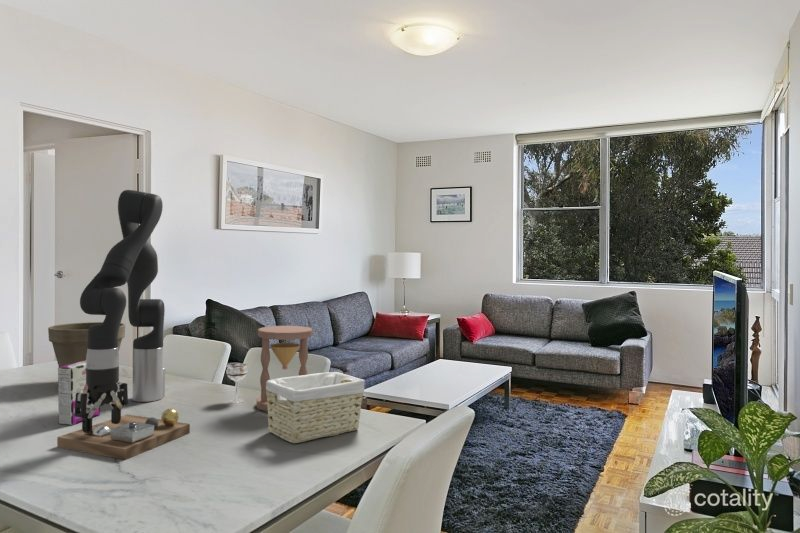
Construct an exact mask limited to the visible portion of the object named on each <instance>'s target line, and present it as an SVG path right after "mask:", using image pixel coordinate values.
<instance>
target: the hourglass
mask: <svg viewBox="0 0 800 533" xmlns="http://www.w3.org/2000/svg"><path fill="white" fill-rule="evenodd" d="M313 334H314V333H313V329H312V328H311V327H309V326H301V325H271V326H269V325H268V326H264V327H260V328H257V337H259V338H260V339H261V352H260V363H261V368H262V370H261V374H260V378H259V383H260V388H261V390H260V396H259V397H258V398H256V405H255V406H256V408H257V409H258V410H260V411H263V412H266V411H267V413H268V407H267V406H268V405H267V395H266V391H267V390H266V382H267V381H268V380H271V378H270V373H269V365H270V361H271V352H270V348H271V350H272V352H273V354H274V356H275V357H276V358H277V359H278V361H279V362H280V364H281V366H282V367H281V368H282V370H288V365H289V364H290V362H291V361H292V360H293V358H294V357H295V355H296V353H297V352H298V359H299V362H300V368H299V371H298V376H301V375H309V373H308V371H307V367H306V366H307V361H308V358H309V355H308V354H309V350H308V339H309V338H311V337H312V336H313ZM270 340H277V341H279V340H280V341H282V340H283V341H287V340H289V341H290V340H300V341H299V342H300V343H295V342H279V343H278V342H277V343H272V344H270Z"/></svg>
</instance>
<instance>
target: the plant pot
mask: <svg viewBox="0 0 800 533" xmlns="http://www.w3.org/2000/svg"><path fill="white" fill-rule="evenodd" d="M101 323H103V321H98V322H97V321H95V322H94V321H93V322H92V321H91V322H88V321H87V322H74V323H63V324H55V325H51V326H49V327H48V328H47V331H48V341H49V342H51V345H52V347H53V351H54V354H55V358H56V362H57V366H58V367H62V366H66V365H69V364H73V363H77V362H81V361H85V360H86V355H87V349H88V348H87V346H88V329H89V327H90V326H92V325H96V324H101ZM125 336H126V324H125V323H123V322H121V324H120V327H119V331H118V351H120V347H121V345H122V341H123V339H124V338H125Z"/></svg>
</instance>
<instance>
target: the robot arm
mask: <svg viewBox="0 0 800 533" xmlns="http://www.w3.org/2000/svg"><path fill="white" fill-rule="evenodd" d="M163 206H164V205H163V200H162V198H161V196H160V195H158V194H154V193H151V192H150V193H149V192H145V191H139V190H134V189H125V190H123V191H121V193H120V194H119V197H118V200H117V213H118V214H117V215H118V220H119V224H120V230H121V234H122V239H121V240H119V242H117V243H116V244H114V245H113V246H112V247H111V248H110V250H109V251H108V252H107V254H106V257H105V259H104V262H103V264H102V265H101V268H100V271H99V272H98V273H97V274H96V275H95V276H93V278H92V279H91V281H90V282H89V283H88V284H87V285H86V286H85V288H84V289H83V291H82V293H81V295H80V298H79V306H80V309H81V311H82V312H83V313H85V314H88V315H91V316H93V315H94V316H96V315H97V316H98V315H99V316H105V317H104V320H103V321H102V322H103V323H101V324H96V325H92V326H90V327H89V329H88V346H87V348H88V349H87V355H86V384H87V386H88V390H87V392H85V393H76V397H75V413H74V416H75V417H80V418H82V422H81V429H82V430H83V432H84V433H91V432H92V426H93V417H92V416H93V414H94V412H95V411H96V410H97V409H98V408H99V406H100V407H102V406H105V405H110V407H111V408H112V409H111V416H110V418H111V419H110V420H111V422H112V424H119V423H120V420H121V416H122V409H123V407H124V406H127V405H129V404H128V403H129V398H128V397H129V396H128V394H129V393H128V383H127V382H120V353H119V351H120V350H119V351H118V331H119V327H120V324H121V323H122V319H123V316H124V314H125V311H126V307H127V311H128V312H127V313H128V321H129V324H130V325H131V326H132V327H135V328H152V331H150V332H148V333H147V334H144V335H142V336H139V337H136V338H134V339H133V341H132V392H131V394H132V395H131V396H132V400H131V401H134V402H139V403H146V402H147V403H148V402H155V401H159V400H161V399H162V398H164V397H165V396H166V395H165V394H166V393H165V392H166V390H165V389H166V369H165V367H164V324H165V303H164V300H162V299H161V298H152V299H151V298H145V299H144V298H141V296H142V294H143V293H144V292H145V290H147V288H148V287H149V286H150V285H151V284H152V283H153V282H154V281H155V279H156V277H157V275H158V273H159V263H158V259H159V258H158V255H157V251H156V249H155V248H154V247H153V245H152V243H151V242H150V241H149V239H150V237H151V235H152V234H153V232H154V230H155V228H156V227H157V225H158V223H159V221H160V219H161V217H162V213H163V209H164V208H163ZM126 284H127V295H128V296H127V297H126V294H125V293H124V291H123V290H122V289H121V288H119V287H122V286H125V285H126ZM127 298H128V299H127ZM127 305H128V306H127ZM91 403H92V404H93V406H92V405H91ZM80 408H81V412H80ZM89 410H90V411H89ZM88 411H89V412H88ZM91 417H92V418H91Z"/></svg>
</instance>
